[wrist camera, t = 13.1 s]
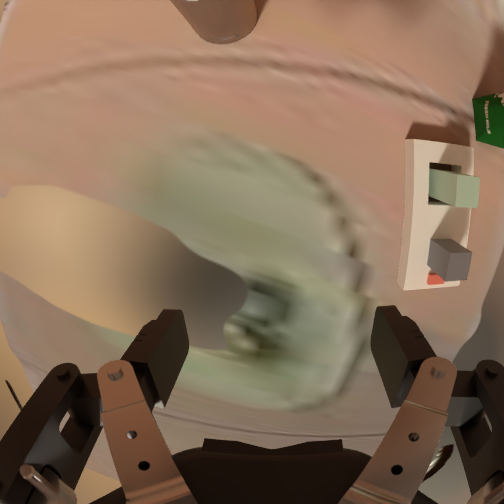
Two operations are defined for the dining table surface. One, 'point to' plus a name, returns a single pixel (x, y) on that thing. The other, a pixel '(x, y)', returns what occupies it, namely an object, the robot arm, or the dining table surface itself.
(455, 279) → the white plate with window
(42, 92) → the dining table surface
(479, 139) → the milk carton
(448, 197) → the green plug
